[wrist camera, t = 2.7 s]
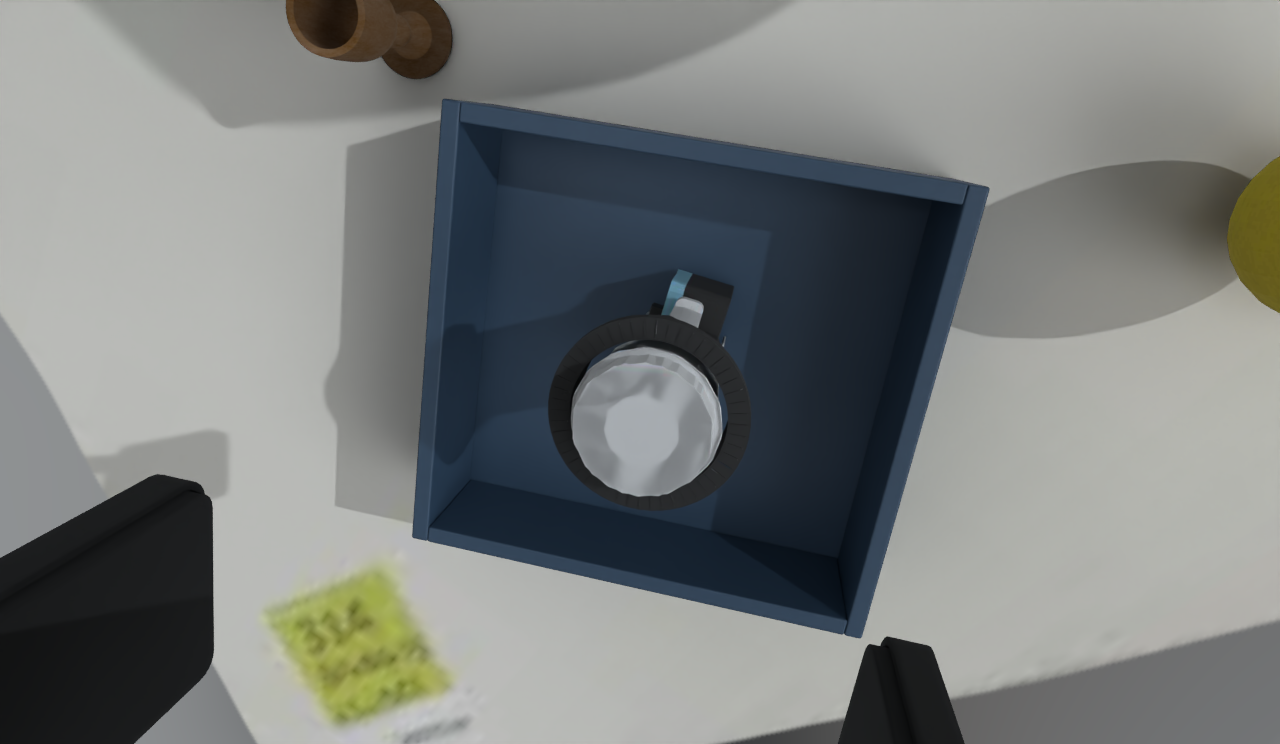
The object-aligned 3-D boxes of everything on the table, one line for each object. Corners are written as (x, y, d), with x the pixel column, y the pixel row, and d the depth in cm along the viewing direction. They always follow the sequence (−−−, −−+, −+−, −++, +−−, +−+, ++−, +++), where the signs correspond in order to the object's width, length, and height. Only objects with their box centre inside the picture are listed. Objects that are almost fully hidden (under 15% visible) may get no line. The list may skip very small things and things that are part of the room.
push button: (719, 452, 30) (696, 598, 20) (588, 409, 30) (505, 532, 21) (776, 288, 28) (780, 366, 18) (634, 244, 28) (565, 298, 19)
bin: (954, 179, 26) (990, 187, 22) (849, 570, 31) (861, 639, 27) (491, 104, 28) (441, 98, 24) (458, 485, 32) (411, 538, 28)
